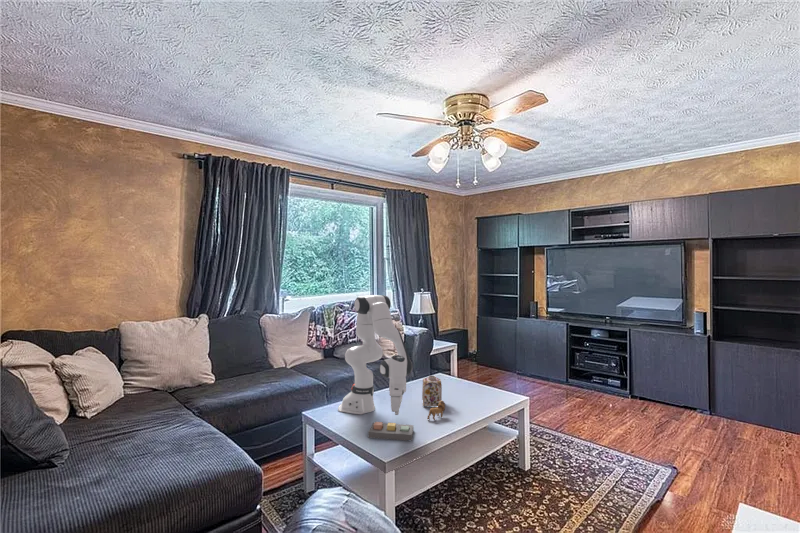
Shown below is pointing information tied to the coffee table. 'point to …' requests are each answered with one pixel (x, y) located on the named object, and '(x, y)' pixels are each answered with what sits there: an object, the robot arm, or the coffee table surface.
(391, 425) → the ochre button
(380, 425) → the terracotta button
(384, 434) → the button panel
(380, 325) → the robot arm
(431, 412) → the lion figurine
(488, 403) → the coffee table surface
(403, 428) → the sage button
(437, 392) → the decorative jar
